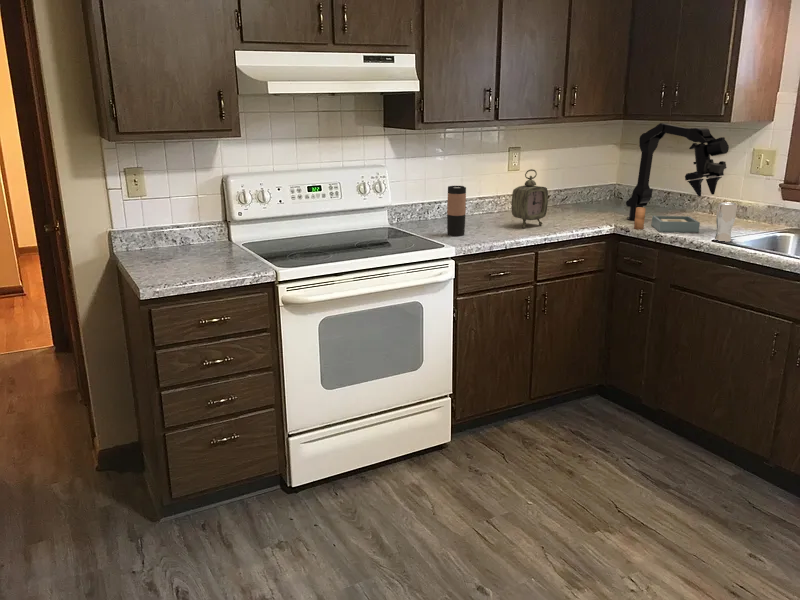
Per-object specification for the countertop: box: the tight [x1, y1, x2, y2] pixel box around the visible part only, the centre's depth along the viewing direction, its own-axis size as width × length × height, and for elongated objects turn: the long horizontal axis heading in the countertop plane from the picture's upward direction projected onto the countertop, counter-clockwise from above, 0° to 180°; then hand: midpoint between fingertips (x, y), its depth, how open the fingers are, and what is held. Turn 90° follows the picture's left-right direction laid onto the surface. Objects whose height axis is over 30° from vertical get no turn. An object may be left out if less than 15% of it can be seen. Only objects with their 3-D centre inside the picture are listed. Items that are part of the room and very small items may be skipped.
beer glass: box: [714, 201, 738, 243], centre depth 272 cm, size 7×7×15 cm
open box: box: [651, 215, 701, 233], centre depth 297 cm, size 15×16×4 cm
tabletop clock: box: [511, 168, 549, 229], centre depth 302 cm, size 14×9×25 cm, turn 126°
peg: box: [633, 206, 647, 230], centre depth 298 cm, size 4×4×9 cm
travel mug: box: [446, 185, 467, 237], centre depth 284 cm, size 8×8×20 cm
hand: (706, 195), depth 288 cm, fingers open, 9 cm apart
